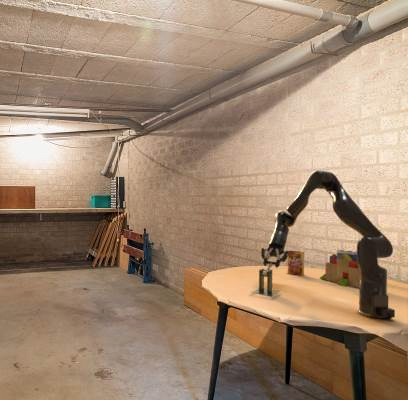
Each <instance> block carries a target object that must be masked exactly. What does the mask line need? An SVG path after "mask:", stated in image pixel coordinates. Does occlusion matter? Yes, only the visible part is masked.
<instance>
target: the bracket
mask: <svg viewBox="0 0 408 400" xmlns="http://www.w3.org/2000/svg"><path fill="white" fill-rule="evenodd" d="M264 270H265V268H260V269H259V270H258V272H259V273H258V288H257V289H255V290H253V291H251V292H250V293H251V294H255V295H260V296H261V295H262V296H266V297H271V298H272V297H274V296H275V295H277V294H279V293H280V292H281V291H280V290H274V289H273V269H270V270H269V271H267V277H266V278H267V279H266V281H267V283H266V284H267V285H266V286H267V287H266V288H265V277H263V273H262V272H263V271H264Z"/></svg>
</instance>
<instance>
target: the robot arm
mask: <svg viewBox="0 0 408 400" xmlns="http://www.w3.org/2000/svg"><path fill="white" fill-rule="evenodd" d="M316 190H324V191H325V192H327V194H329V196H330V197H331V199H332V209H333V212H334V214H335V215H336V216H337V217H338V219H339V220H340V221H341V222H342V223H343V224H344V225H346V226H347V227H349V228H351V229H352V230H354V231H355V232H357V233H358V234H360V235H361V236H362V237H360V238H359V240H358V241H357V244H356V251H357V262H358V267H359V270H360V280H359V288H358V291H359V292H358V297H359V298H358V313H359V314H360V315H361V316H364V317H369V318H372V319H387V320H391V319H393V318H395V316H396V309H393V308H391V307H389V295H388V293H387V292H388V270H387V269H386V268H385V267H383V266H381V265H380V264H379V261H378V259H386V258H387V259H388V258H390V257H391V256H392V255H393V253H394V248H393V244H392V242H391V241H390V240H389V238H387V236H386V235H384V233H383V232H381V231H380V229H378V227H376V225H374V224H373V222H372V221H371V220H370V219H369V217H368V216H367V215H366V214H365V213H364V212H363V211H362V209H361V208H360V206H359V205H358V204H357V203H356V202H355V201H354V199H353V198H352V197H351V196H350V194H349V193H348V192H347V190H346V189H345V188H344V187H343V185H342V183H341V182H340V180H339V179H338V177H337V175H335V174H334V173H333V172H331V171H325V170H315V171H313V172H311V173H310V175H309V176H308V178H307V179H306V181H305V183H304V184H303V186H302V187H301V189H300V191H299V192H298V194H297V195H296V196H295V198H294V199H293V200H292V201H291V202H290V203H289V205H288V206H287V207H286V211H287V212H286V211H284V210H279V211H277V212H276V214H275V215H274V230H273V233H272V235H271V238H270V241H269V244H268V247H267V248H264V247H262V248H261V250H260V251H261V253H260V256H261V258H262V260H263V261H262V264H263V266H264V267H267V265H268V264H267V263H266V262H267V261H269V260H270V259H271V258H272V257H275V258H277V259H276V260H275V262H276V264H275V265H274V266H275V268H276V269H277V268H279V267H280V264H281V262H283V263H285V262H286V260H288V256H289V252H288V250H285V248H286V244H287V240H288V235H289V231H290V228H292V227H293V226H294V225H296V224H295V223H296V221H297V219H298V217H299V215H300V214H301V213H302V212H303V211H304V210H305V209H306V208H307V206H308V204H309V200H310V196H311V194H312V193H313V192H314V191H316ZM281 255H282V256H281Z"/></svg>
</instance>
